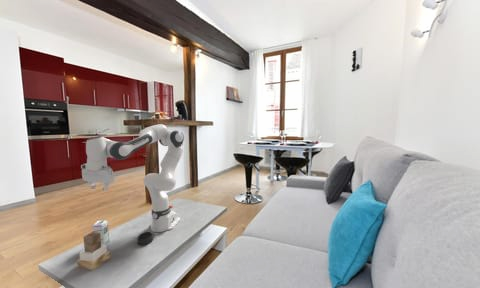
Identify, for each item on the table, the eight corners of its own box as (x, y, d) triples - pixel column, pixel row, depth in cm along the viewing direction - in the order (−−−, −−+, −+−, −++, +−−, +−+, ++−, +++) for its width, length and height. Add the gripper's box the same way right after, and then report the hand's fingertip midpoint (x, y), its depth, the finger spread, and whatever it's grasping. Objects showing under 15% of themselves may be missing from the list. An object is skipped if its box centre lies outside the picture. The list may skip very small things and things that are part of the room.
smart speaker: (149, 235, 127) (149, 230, 127) (156, 240, 122) (155, 234, 121) (135, 242, 120) (135, 236, 120) (141, 247, 115) (141, 241, 114)
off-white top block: (94, 250, 107) (93, 243, 106) (106, 251, 106) (106, 244, 105) (80, 260, 99) (79, 252, 99) (93, 261, 98) (92, 254, 97)
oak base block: (97, 254, 109) (96, 248, 109) (110, 258, 106) (109, 251, 106) (77, 267, 99) (77, 259, 99) (91, 271, 96) (91, 264, 96)
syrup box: (104, 247, 115) (102, 224, 114) (93, 248, 114) (91, 225, 113) (109, 241, 121) (107, 219, 119) (99, 242, 120) (97, 220, 118)
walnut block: (94, 245, 105) (93, 231, 104) (101, 246, 103) (100, 232, 103) (84, 251, 100) (83, 236, 99) (92, 252, 99) (90, 238, 98)
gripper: (116, 165, 106) (118, 189, 108) (90, 163, 112) (92, 186, 114) (105, 167, 100) (107, 193, 102) (78, 165, 106) (80, 189, 108)
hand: (99, 189), depth 108 cm, fingers open, 8 cm apart
